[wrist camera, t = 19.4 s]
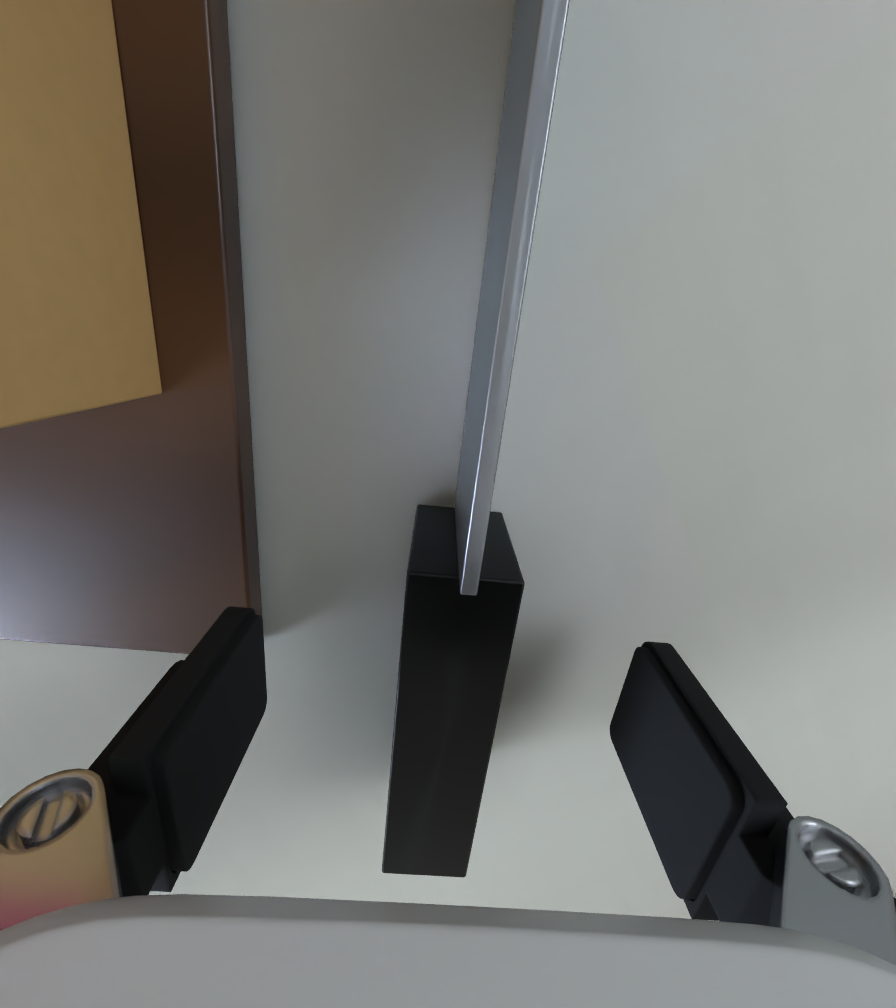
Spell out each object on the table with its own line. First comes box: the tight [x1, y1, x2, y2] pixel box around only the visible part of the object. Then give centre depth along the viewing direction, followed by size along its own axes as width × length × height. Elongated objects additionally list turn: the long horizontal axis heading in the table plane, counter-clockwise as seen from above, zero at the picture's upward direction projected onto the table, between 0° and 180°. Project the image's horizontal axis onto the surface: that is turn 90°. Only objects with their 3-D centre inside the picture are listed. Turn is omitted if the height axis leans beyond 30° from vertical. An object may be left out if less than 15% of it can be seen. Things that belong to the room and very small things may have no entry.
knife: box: [382, 0, 570, 877], centre depth 9 cm, size 22×2×4 cm, turn 174°
